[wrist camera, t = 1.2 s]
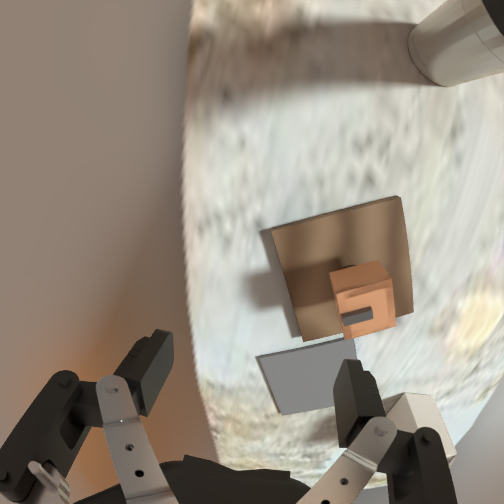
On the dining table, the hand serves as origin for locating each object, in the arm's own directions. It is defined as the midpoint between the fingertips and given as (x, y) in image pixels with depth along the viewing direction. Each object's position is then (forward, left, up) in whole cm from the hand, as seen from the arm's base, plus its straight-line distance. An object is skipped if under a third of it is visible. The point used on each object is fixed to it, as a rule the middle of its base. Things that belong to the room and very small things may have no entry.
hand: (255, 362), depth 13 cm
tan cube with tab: (-8, +8, -19) cm, 22 cm away
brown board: (-8, +8, -24) cm, 26 cm away
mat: (0, +25, -24) cm, 35 cm away
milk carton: (-16, +39, -24) cm, 48 cm away
